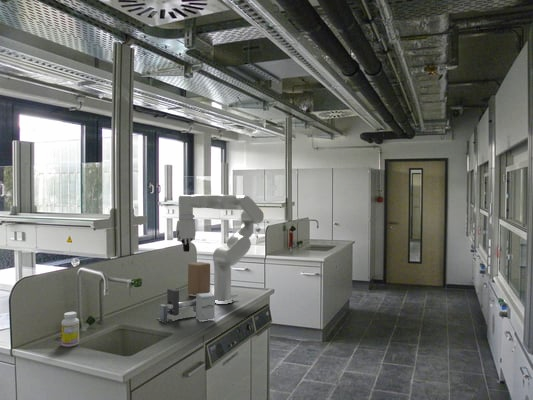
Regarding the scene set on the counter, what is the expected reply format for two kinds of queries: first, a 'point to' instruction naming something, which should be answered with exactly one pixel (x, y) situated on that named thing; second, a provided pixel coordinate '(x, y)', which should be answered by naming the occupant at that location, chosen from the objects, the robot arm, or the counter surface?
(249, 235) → the robot arm
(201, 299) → the supplement box
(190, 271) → the block
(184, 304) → the pipe rig
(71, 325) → the supplement bottle
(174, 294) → the grey upright panel
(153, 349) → the counter surface
